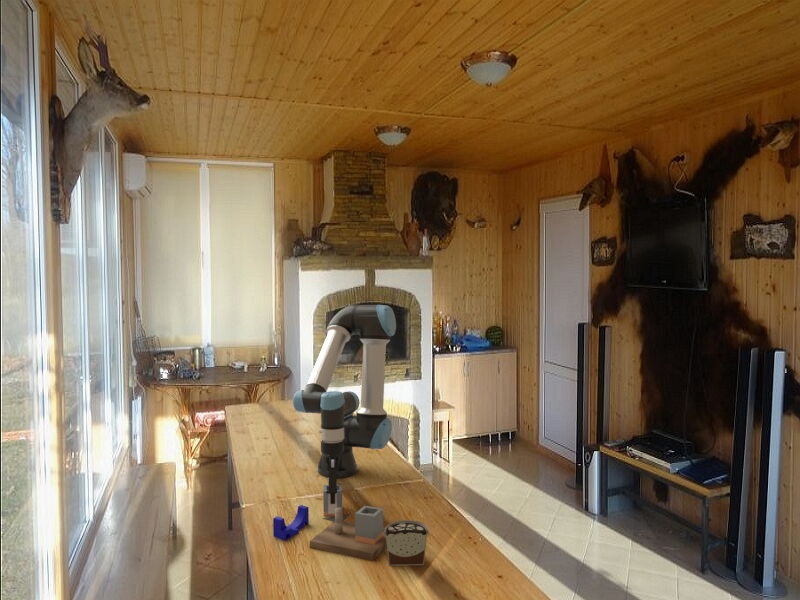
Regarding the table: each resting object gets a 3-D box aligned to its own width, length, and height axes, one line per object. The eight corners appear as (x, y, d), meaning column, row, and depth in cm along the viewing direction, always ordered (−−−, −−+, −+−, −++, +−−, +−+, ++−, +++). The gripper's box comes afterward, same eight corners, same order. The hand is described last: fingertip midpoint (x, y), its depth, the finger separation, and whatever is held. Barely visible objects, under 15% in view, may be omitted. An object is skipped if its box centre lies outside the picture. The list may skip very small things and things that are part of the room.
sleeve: (323, 508, 197) (323, 485, 197) (341, 508, 198) (341, 484, 198) (323, 516, 191) (323, 491, 191) (342, 515, 192) (342, 490, 192)
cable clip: (284, 541, 175) (284, 521, 174) (273, 537, 177) (273, 517, 177) (312, 527, 185) (312, 508, 184) (301, 523, 187) (301, 504, 187)
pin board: (337, 525, 185) (336, 497, 185) (396, 536, 177) (396, 507, 177) (309, 547, 170) (309, 516, 170) (373, 560, 162) (373, 528, 162)
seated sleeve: (364, 532, 176) (364, 505, 175) (383, 535, 173) (383, 508, 173) (355, 540, 170) (355, 513, 170) (374, 544, 168) (374, 516, 167)
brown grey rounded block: (427, 554, 166) (427, 518, 166) (429, 564, 160) (429, 528, 160) (383, 554, 166) (383, 519, 165) (383, 565, 160) (383, 529, 159)
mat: (326, 504, 202) (326, 502, 202) (357, 509, 198) (357, 508, 198) (307, 517, 191) (307, 516, 191) (340, 523, 187) (340, 522, 187)
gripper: (321, 430, 205) (321, 492, 206) (320, 451, 181) (320, 520, 181) (343, 430, 206) (342, 491, 207) (345, 450, 182) (345, 519, 182)
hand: (332, 505), depth 194 cm, fingers open, 13 cm apart
